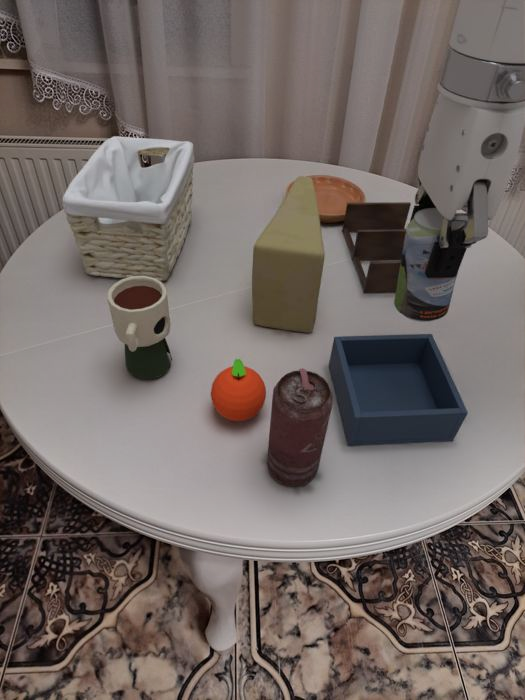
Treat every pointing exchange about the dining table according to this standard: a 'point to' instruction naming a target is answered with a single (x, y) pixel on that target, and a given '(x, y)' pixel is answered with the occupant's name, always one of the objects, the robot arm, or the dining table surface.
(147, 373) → the character mug
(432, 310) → the beverage can
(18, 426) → the dining table surface
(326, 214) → the saucer
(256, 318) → the cheese
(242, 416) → the clementine
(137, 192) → the basket
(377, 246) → the drying rack
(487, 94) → the robot arm
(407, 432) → the open square box
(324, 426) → the can
